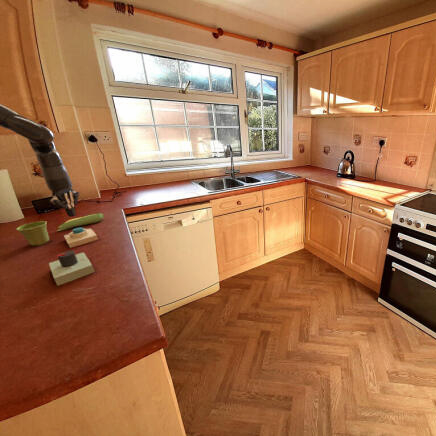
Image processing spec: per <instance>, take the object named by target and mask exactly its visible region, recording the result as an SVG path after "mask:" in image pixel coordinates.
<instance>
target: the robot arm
mask: <svg viewBox="0 0 436 436" xmlns="http://www.w3.org/2000/svg"><path fill="white" fill-rule="evenodd" d="M0 127H1V128H3V129H6V130H8V131H10V132H14V133H15V134H18V135H19V136H20V137H23V138H24V139H27V141H28V143H29V145H30V147H31V148H32V150H33V152H34V154H35V157H36V160H37V162H38V163H37V164H38V165H39V167H40V170H41V174H42V177H43V179H44V181H45V184H46V186H47V189H48V190H49V191H51V196H52V198H51V199H49V200H48V203H50V204H51V205H53V206H55V207H56V208H57V209H60V210H63V209H64V211H65V213H66V215H67V217H69V218H70V217H72V218H73V217H75V216H77V212H76V209H75V206H76V205H78V202H79V201H78V200H79V196H80V191H75V190H74V189H73V188H72V187H73V183H72V181H71V178H70V174H69V172H68V171H67V168H66V167H65V165H64V162H63V159H62V157H61V155H60V153H59V152H58V150H57V149H56V146H55V143H54V138H55V137H54V133H53V132H52V131H51V130H50V128H48V127H46V126H45V125H43V124H40V123H39V122H36V121H34V120H32V119H30V118H28V117H25V116H23V115H21V114H19V113H18V112H17V111H15V110H12V109H11V108H9V107H7V106H5V105H3V104H2V103H0Z"/></svg>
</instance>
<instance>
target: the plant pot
mask: <svg viewBox="0 0 436 436" xmlns="http://www.w3.org/2000/svg"><path fill="white" fill-rule="evenodd" d="M16 231H18V233H20V234H21V235H22V236H23V237H24V239H25V240H26V242H28V244H29V245H30V246H31V247H35V246H42V245H44V244H47V243H48V242H50V236H49V233H48V229H47V221H46V220H44V221H43V220H41V221H34V222H29V223H25V224H21V225H20V226H18V227H17V228H16Z"/></svg>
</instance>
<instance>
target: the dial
mask: <svg viewBox="0 0 436 436" xmlns="http://www.w3.org/2000/svg"><path fill="white" fill-rule="evenodd" d="M56 256H57V258H58V259H57V260H59V261H60V264H61V266H62V267H70V266H73V265H75V264H76V263H78V260H77V258H76V253H75V251H74V250H68V251H64V252H61V253H59V254H57V255H56Z"/></svg>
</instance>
